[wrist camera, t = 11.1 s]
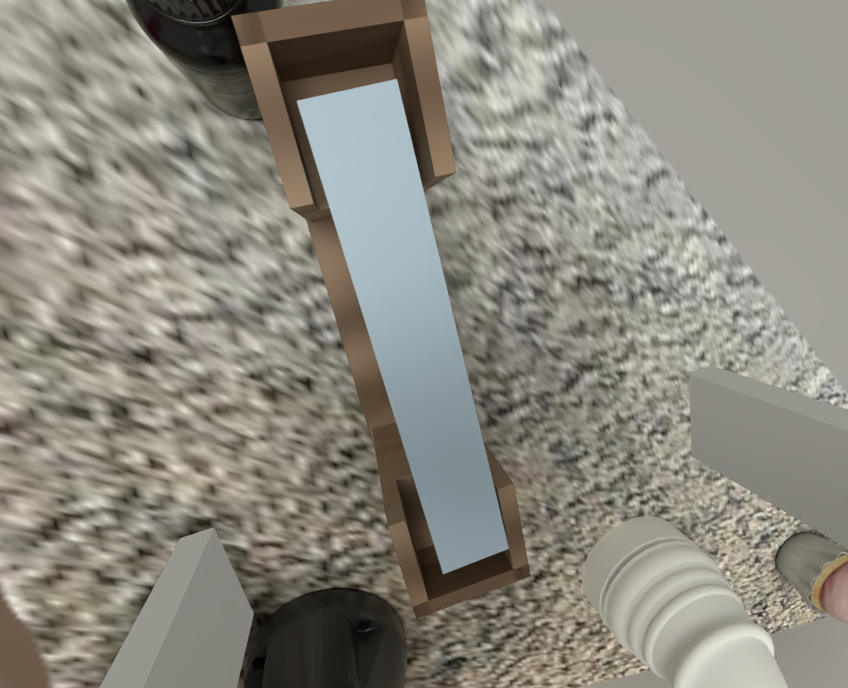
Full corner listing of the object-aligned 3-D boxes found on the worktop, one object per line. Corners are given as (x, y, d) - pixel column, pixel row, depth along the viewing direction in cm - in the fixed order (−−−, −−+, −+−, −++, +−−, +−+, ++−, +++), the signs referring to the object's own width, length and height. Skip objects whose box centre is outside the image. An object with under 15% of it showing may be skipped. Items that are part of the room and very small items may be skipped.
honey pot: (581, 622, 45) (725, 851, 28) (581, 531, 42) (746, 728, 25) (676, 594, 48) (864, 790, 31) (685, 504, 44) (901, 669, 27)
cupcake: (835, 543, 51) (947, 611, 42) (784, 593, 52) (883, 671, 42) (807, 507, 48) (920, 571, 39) (753, 560, 49) (852, 636, 39)
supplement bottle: (316, 48, 26) (297, -99, 15) (272, 142, 27) (223, 71, 16) (213, -23, 24) (102, -255, 13) (170, 81, 25) (30, -50, 14)
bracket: (469, 463, 37) (534, 574, 25) (387, 490, 36) (412, 620, 24) (389, 98, 28) (428, -14, 16) (277, 119, 27) (224, 16, 15)
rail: (479, 495, 27) (508, 548, 22) (425, 515, 27) (443, 574, 22) (383, 117, 20) (397, 78, 15) (307, 134, 20) (296, 100, 15)
